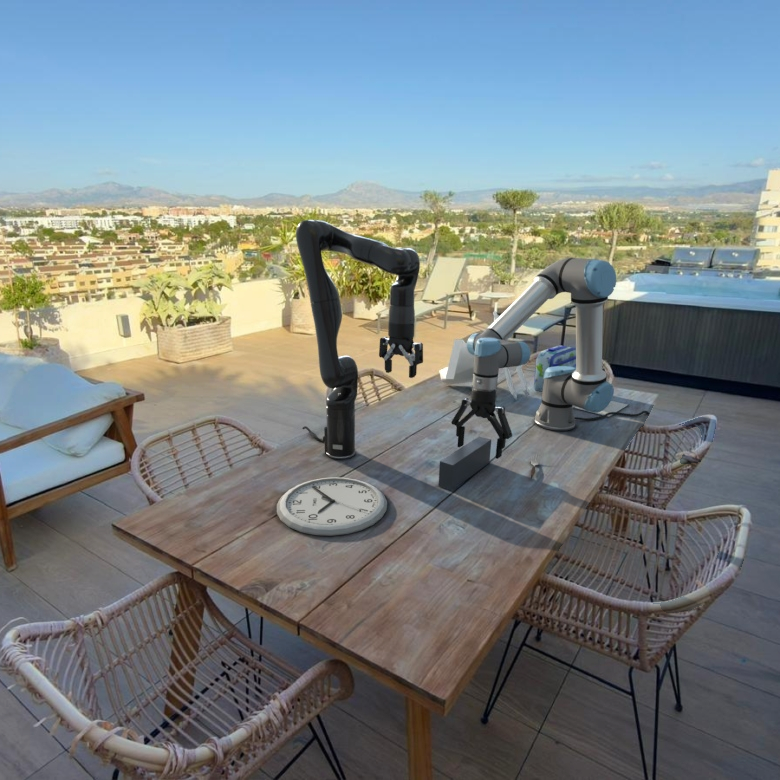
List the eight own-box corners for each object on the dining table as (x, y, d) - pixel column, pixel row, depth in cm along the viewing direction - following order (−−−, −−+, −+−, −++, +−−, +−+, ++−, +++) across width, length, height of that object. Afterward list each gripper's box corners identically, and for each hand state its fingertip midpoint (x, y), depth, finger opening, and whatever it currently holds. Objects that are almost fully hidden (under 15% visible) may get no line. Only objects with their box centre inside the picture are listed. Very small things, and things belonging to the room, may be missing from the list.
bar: (477, 459, 173) (479, 436, 171) (489, 462, 171) (491, 439, 168) (438, 486, 154) (439, 461, 152) (451, 490, 152) (452, 465, 149)
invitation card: (608, 416, 214) (573, 407, 224) (608, 416, 214) (573, 408, 224) (628, 404, 229) (594, 396, 238) (628, 405, 229) (594, 397, 238)
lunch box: (550, 398, 235) (555, 353, 229) (529, 393, 243) (534, 349, 236) (577, 387, 253) (583, 345, 247) (557, 382, 260) (562, 341, 254)
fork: (526, 479, 159) (527, 473, 159) (531, 458, 173) (532, 453, 173) (535, 480, 158) (536, 474, 158) (539, 460, 173) (540, 454, 172)
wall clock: (392, 527, 129) (268, 531, 127) (391, 533, 130) (269, 537, 127) (383, 473, 158) (282, 475, 155) (383, 478, 158) (282, 480, 156)
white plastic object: (461, 429, 252) (437, 405, 227) (444, 352, 274) (420, 323, 250) (535, 404, 240) (518, 377, 215) (510, 326, 262) (492, 293, 237)
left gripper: (374, 319, 151) (373, 373, 156) (414, 325, 143) (412, 382, 148) (389, 316, 157) (388, 368, 162) (429, 321, 149) (427, 376, 154)
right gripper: (443, 383, 166) (439, 445, 172) (517, 399, 152) (510, 466, 158) (455, 378, 172) (451, 438, 178) (527, 393, 157) (520, 458, 164)
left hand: (400, 374), depth 155 cm, fingers open, 8 cm apart
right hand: (479, 451), depth 168 cm, fingers open, 13 cm apart
